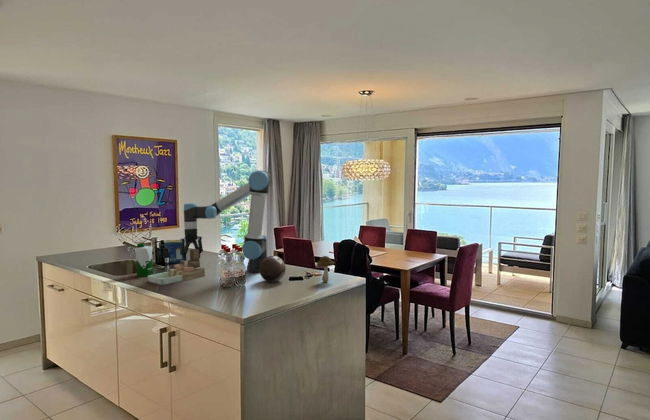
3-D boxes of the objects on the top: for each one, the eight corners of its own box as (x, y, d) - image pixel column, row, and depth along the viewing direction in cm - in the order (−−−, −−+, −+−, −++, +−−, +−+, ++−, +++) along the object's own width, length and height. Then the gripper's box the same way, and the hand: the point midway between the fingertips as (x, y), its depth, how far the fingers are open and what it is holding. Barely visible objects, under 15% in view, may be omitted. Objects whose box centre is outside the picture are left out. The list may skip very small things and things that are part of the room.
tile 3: (184, 267, 259) (184, 264, 259) (178, 269, 256) (177, 265, 256) (180, 267, 262) (180, 263, 262) (174, 268, 259) (174, 265, 259)
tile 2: (187, 269, 255) (187, 266, 255) (181, 270, 252) (181, 267, 252) (183, 268, 258) (183, 265, 258) (177, 269, 255) (177, 266, 254)
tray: (182, 281, 246) (182, 275, 246) (161, 285, 236) (161, 279, 236) (168, 277, 256) (168, 271, 256) (147, 281, 247) (147, 275, 246)
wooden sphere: (281, 285, 232) (280, 258, 231) (256, 284, 235) (255, 258, 234) (288, 278, 247) (288, 253, 246) (264, 278, 250) (263, 253, 249)
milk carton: (143, 273, 268) (141, 242, 267) (155, 273, 267) (154, 242, 265) (134, 276, 260) (132, 244, 258) (147, 277, 258) (145, 245, 256)
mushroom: (338, 280, 240) (337, 255, 239) (326, 285, 231) (325, 258, 230) (325, 278, 246) (325, 253, 245) (313, 282, 237) (312, 256, 236)
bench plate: (204, 275, 258) (204, 268, 258) (182, 280, 246) (181, 272, 246) (191, 272, 268) (190, 265, 268) (168, 277, 256) (168, 269, 256)
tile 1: (193, 270, 252) (193, 266, 252) (187, 271, 249) (187, 268, 249) (189, 269, 255) (189, 265, 255) (183, 270, 252) (183, 267, 252)
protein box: (166, 260, 310) (165, 240, 308) (188, 260, 311) (187, 239, 310) (162, 263, 299) (161, 242, 298) (185, 262, 301) (184, 241, 300)
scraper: (204, 266, 258) (203, 250, 257) (194, 268, 252) (193, 252, 251) (190, 263, 268) (189, 247, 267) (180, 265, 262) (179, 249, 262)
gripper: (201, 226, 268) (202, 261, 270) (172, 229, 253) (174, 266, 255) (208, 227, 263) (209, 262, 265) (179, 230, 248) (180, 268, 250)
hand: (192, 264), depth 260 cm, fingers closed on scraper, 7 cm apart
